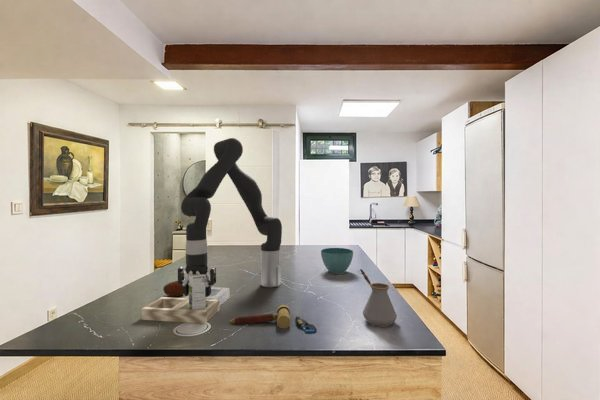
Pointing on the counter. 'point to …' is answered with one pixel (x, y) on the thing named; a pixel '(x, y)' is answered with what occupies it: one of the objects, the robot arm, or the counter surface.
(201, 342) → the counter surface
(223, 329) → the counter surface
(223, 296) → the socket block
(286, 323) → the gavel
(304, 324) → the micrometer
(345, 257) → the teal bowl
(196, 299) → the syrup box
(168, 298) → the rack
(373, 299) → the coffee pot
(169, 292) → the potato
